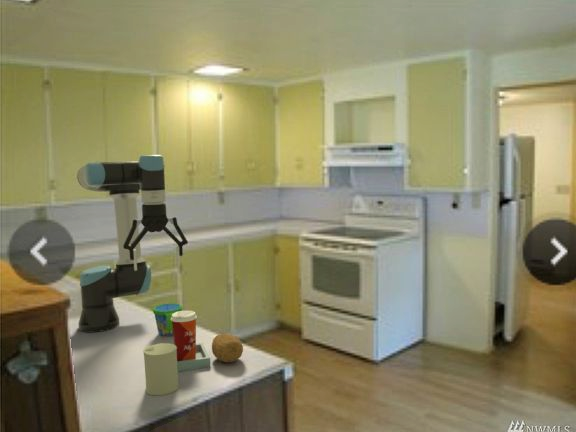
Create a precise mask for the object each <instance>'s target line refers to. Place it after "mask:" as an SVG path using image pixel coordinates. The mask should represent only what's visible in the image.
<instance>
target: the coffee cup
mask: <svg viewBox="0 0 576 432" xmlns="http://www.w3.org/2000/svg"><path fill="white" fill-rule="evenodd" d="M197 318H198V316H197V315H196V312H195V311H194V310H182V311H178V312H175V313H173V314H172V317H171V321H172V327H173V335H172V336H173V341H174V342H173V343H174V345H175V346H176V347H177V361H184V360H191V359H195V358H196V344H197Z"/></svg>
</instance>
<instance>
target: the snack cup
mask: <svg viewBox="0 0 576 432" xmlns="http://www.w3.org/2000/svg"><path fill="white" fill-rule="evenodd" d="M178 311H183V306H182V304H180V303H175V302H174V303H173V302H168V303H162V304H161V303H160V304H157V305H156V306H154V307H153V309H152V313H153V314H154V317H155V322H156V327H157V332H158V334H159V335H160V336H161V337H162V336H164V337H170V336H174V335H173V327H172V321H171V317H172V314H173V313H175V312H178Z"/></svg>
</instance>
